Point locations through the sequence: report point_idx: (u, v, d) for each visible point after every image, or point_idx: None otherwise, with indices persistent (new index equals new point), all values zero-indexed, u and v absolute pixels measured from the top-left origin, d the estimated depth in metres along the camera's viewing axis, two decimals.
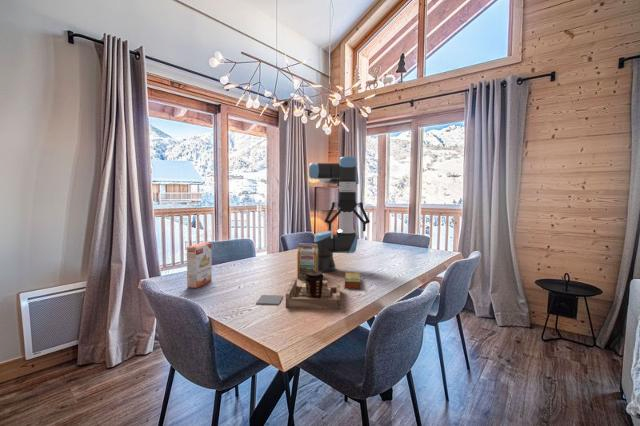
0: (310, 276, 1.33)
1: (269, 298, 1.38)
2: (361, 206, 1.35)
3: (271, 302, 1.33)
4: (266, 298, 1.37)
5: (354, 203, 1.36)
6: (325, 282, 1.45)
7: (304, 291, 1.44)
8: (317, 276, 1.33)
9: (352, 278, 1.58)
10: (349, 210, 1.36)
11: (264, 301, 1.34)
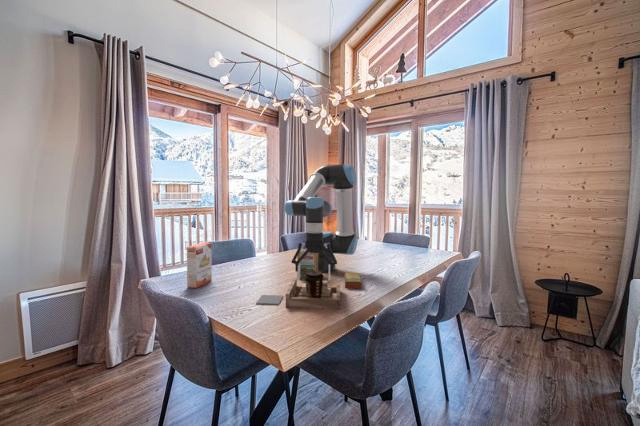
0: (310, 276, 1.33)
1: (269, 298, 1.38)
2: (328, 247, 1.33)
3: (271, 302, 1.33)
4: (266, 298, 1.37)
5: (321, 244, 1.33)
6: (325, 282, 1.45)
7: (304, 291, 1.44)
8: (317, 276, 1.33)
9: (353, 278, 1.58)
10: (316, 251, 1.34)
11: (264, 301, 1.34)
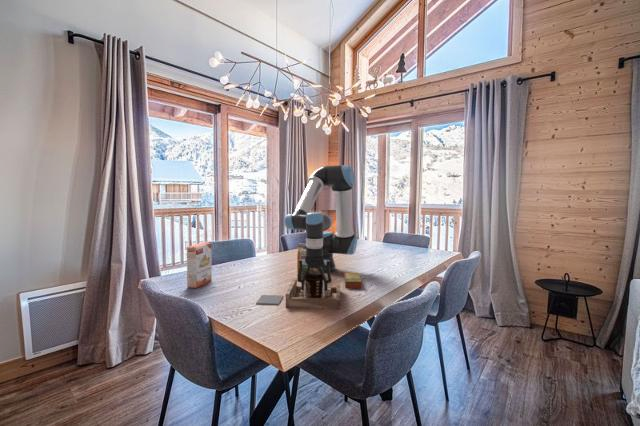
0: (310, 276, 1.33)
1: (269, 298, 1.38)
2: (327, 265, 1.34)
3: (271, 302, 1.33)
4: (266, 298, 1.37)
5: (321, 259, 1.34)
6: None
7: None
8: (317, 276, 1.33)
9: (353, 278, 1.58)
10: (316, 266, 1.34)
11: (264, 301, 1.34)
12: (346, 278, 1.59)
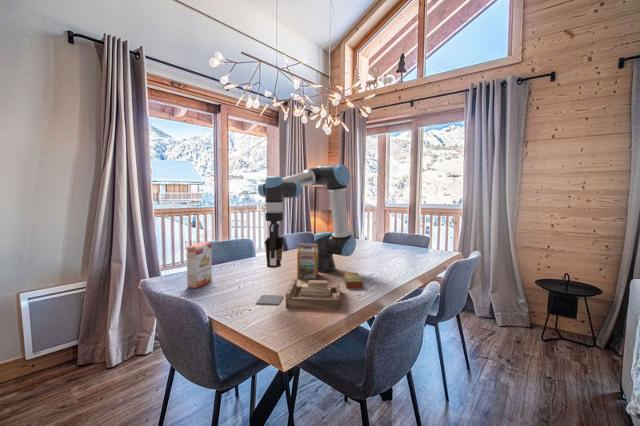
0: None
1: (269, 298, 1.38)
2: None
3: (271, 302, 1.33)
4: (266, 298, 1.37)
5: None
6: (325, 282, 1.45)
7: (304, 291, 1.44)
8: (266, 240, 1.33)
9: (353, 278, 1.58)
10: None
11: (264, 301, 1.34)
12: (346, 278, 1.58)
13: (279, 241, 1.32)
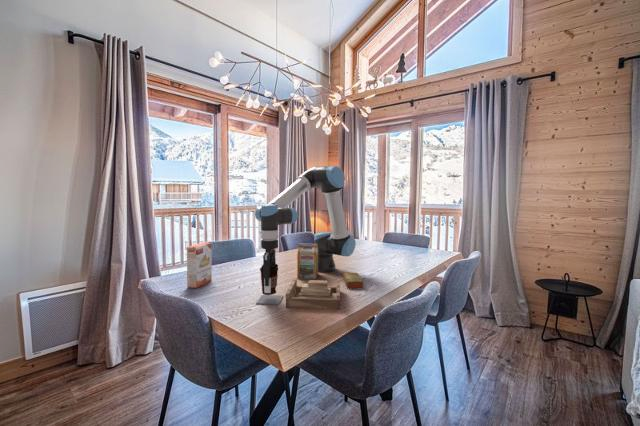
0: None
1: (269, 298, 1.38)
2: None
3: (271, 302, 1.33)
4: (266, 298, 1.37)
5: (265, 252, 1.32)
6: (325, 282, 1.45)
7: (304, 291, 1.44)
8: (261, 267, 1.34)
9: (353, 278, 1.58)
10: None
11: (264, 301, 1.34)
12: (347, 278, 1.58)
13: (274, 269, 1.33)
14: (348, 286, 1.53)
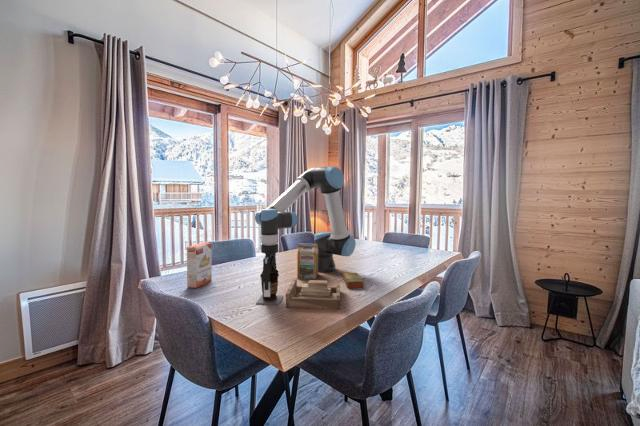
0: None
1: None
2: None
3: (271, 302, 1.33)
4: None
5: (265, 257, 1.32)
6: (325, 282, 1.45)
7: (304, 291, 1.44)
8: (262, 273, 1.35)
9: (354, 278, 1.58)
10: None
11: (264, 301, 1.34)
12: (347, 278, 1.58)
13: (274, 275, 1.33)
14: (348, 286, 1.53)
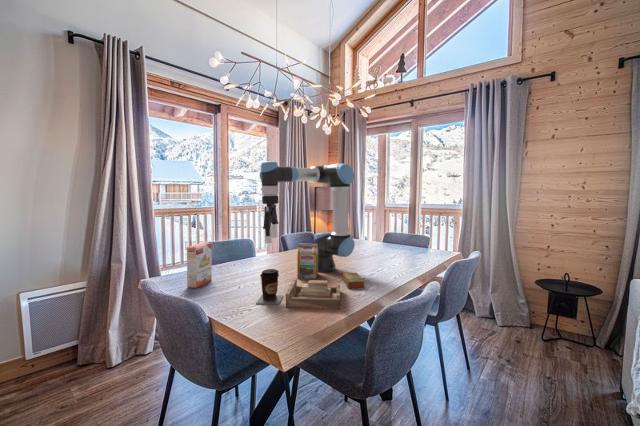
0: None
1: None
2: None
3: (271, 302, 1.33)
4: None
5: (266, 207, 1.39)
6: (325, 282, 1.45)
7: (304, 291, 1.44)
8: (262, 273, 1.35)
9: (354, 278, 1.58)
10: None
11: (264, 301, 1.34)
12: (347, 278, 1.58)
13: (274, 275, 1.33)
14: (349, 286, 1.53)
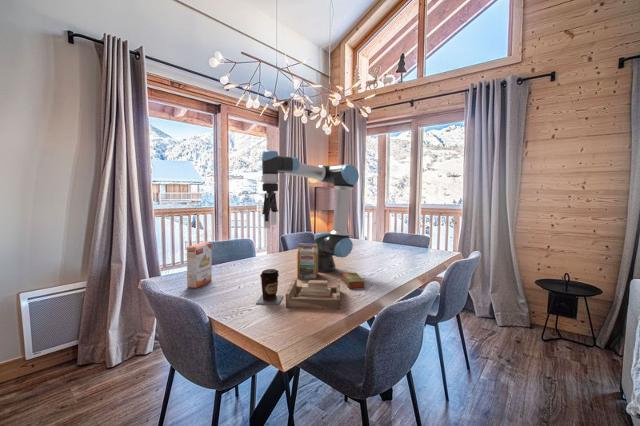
0: None
1: None
2: None
3: (271, 302, 1.33)
4: None
5: None
6: (325, 282, 1.45)
7: (304, 291, 1.44)
8: (262, 273, 1.35)
9: (354, 278, 1.58)
10: None
11: (264, 301, 1.34)
12: (347, 278, 1.58)
13: (274, 275, 1.33)
14: (350, 286, 1.53)
